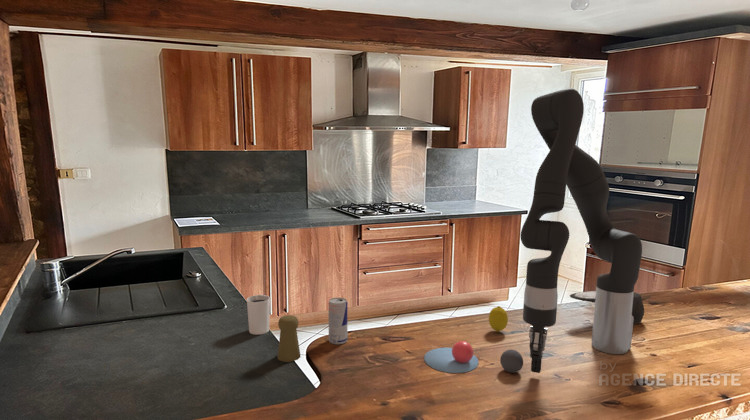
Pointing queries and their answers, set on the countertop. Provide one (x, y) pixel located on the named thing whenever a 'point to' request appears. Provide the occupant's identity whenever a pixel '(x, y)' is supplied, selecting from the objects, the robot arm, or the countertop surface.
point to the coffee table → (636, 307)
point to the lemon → (498, 318)
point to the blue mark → (448, 361)
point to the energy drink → (338, 320)
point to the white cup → (258, 314)
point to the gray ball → (511, 361)
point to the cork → (288, 339)
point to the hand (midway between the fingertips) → (535, 371)
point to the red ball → (462, 352)
